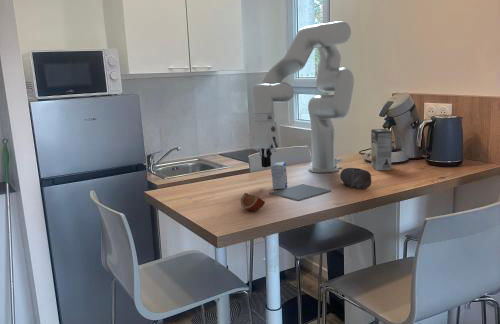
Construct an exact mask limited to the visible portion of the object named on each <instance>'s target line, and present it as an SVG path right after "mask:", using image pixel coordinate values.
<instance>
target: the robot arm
mask: <svg viewBox="0 0 500 324" xmlns="http://www.w3.org/2000/svg"><path fill="white" fill-rule="evenodd" d="M351 34H352V30H351V26H350V25H349V23H348V22H347V21H345V20H340V21H339V20H338V21H333V22H332V21H331V22H326V23H318V24H313V25H307V26H304V27H301V28H300V29H299V30H298V31H297V33H296V34H295V37H294V39H293V41H292V42H291V44H290V45H289V47H288V50H287V51H286V53H285V55H284V56H283V58H281V59H280V60H279V61H277V63H276V64H274V66H272V68H271V69H270V70H269V71H268V72H267V73H266V75H265V76H264V78H263V80H262V82H261V83H257V84H254V85H253V86H252V104H253V105H252V109H253V124H252V125H253V128H252V142H253V146H254V147H255V149H254V150H256V151H257V152H258V153H259V156H260V157H261V159H260V160H261V167H262V168H269V167H270V168H271V166H272V165H271V164H272V160H271V156H272V154H273V153H276V152H277V148H279V146H280V143H279V142H280V140H279V138H280V137H279V131H278V130H279V129H278V126H277V123H276V121H275V117H276V116H275V106H274V105H275V103H279V104H280V103H281V104H282V103H287V102H289V101H290V100H292V98H293V97H294V93H295V90H294V88H293V86H292V85H291V84H290V83H288V82H284V80H285V79H286V78H289V77H290V76H292V75H294V74H297V72H300V71H302V69H304V68H305V66H306V64H307V62H308V60H309V58H310V56H311V54H312V52H313V51H314V49H317V50H318V52H319V63H318V64H319V65H318V70H317V74H316V75H317V76H316V82H315V85H316V86H315V87H316V88H317V90H318V91H320V92H323V93H333V94H317V95H313V96H312V97H311V98H310V99H309V101H308V104H307V110H308V113H309V114H308V115H309V120H310V130H311V131H310V132H311V133H310V134H311V136H310V138H311V141H310V142H311V165H310V166H308V171H309V172H311V173H317V174H327V173H334V172H338V171H339V168H340V167H339V166H337V164H340V163H342V161H343V160H342V158H336V156H335V155H336V152H335V150H336V149H335V126H334V123H333V121H332V119H335V120H336V119H339V120H341V119H343V118H346V116H347V115H348V113H349V110H350V108H351V101H352V96H353V91H354V84H355V79H354V78H355V77H354V74H353V72H352V70H351V69H350V68H347V67H341V61H342V57H341V53H340V51H339V49H338V47H337V45H341V44H345V43H346V42H348V41H349V39H350V37H351Z"/></svg>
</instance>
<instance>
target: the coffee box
mask: <svg viewBox="0 0 500 324" xmlns="http://www.w3.org/2000/svg"><path fill="white" fill-rule="evenodd" d="M370 131H371V134H370V135H371V136H370V137H371V139H370V140H371V142H370V143H371V146H370V148H371V150H370V153H371V158H370V159H371V160H370V161H371V163H370V165H371V167H372V168H373V169H375V170H376V171H387V170H388V171H389V170H392V146H393V145H392V142H393V140H392V139H393V138H392V137H393V131H392V130H389V129H387V128H376V129H374V128H373V129H371V130H370Z"/></svg>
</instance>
